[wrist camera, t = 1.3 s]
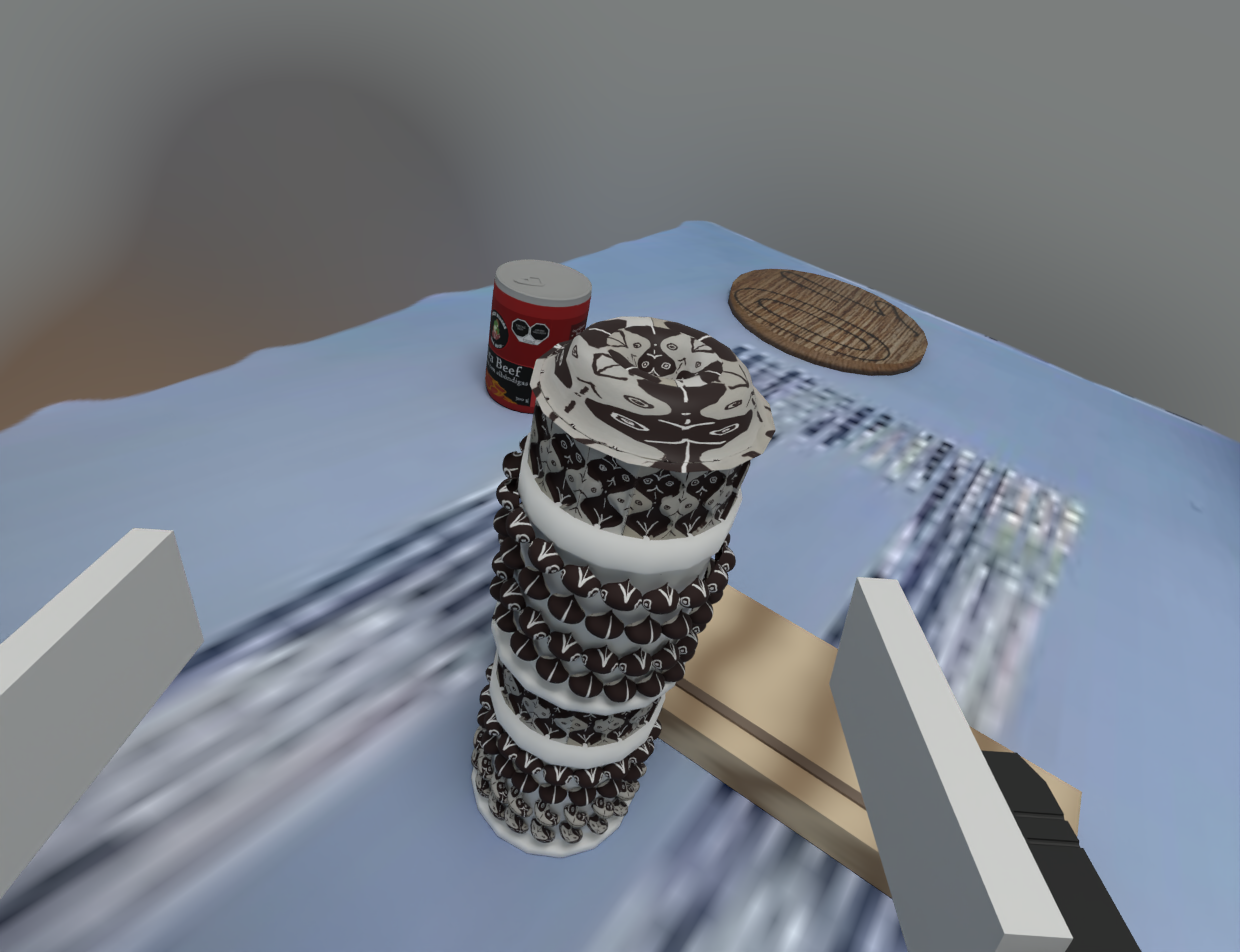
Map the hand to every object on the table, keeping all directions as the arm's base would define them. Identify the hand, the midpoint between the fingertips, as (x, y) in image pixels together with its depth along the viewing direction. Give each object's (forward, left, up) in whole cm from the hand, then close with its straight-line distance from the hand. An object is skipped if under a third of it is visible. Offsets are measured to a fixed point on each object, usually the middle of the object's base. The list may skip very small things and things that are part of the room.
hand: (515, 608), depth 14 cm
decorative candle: (-3, +11, -25) cm, 27 cm away
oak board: (+7, +22, -25) cm, 34 cm away
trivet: (-13, +81, -25) cm, 86 cm away
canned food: (-27, +39, -25) cm, 53 cm away
